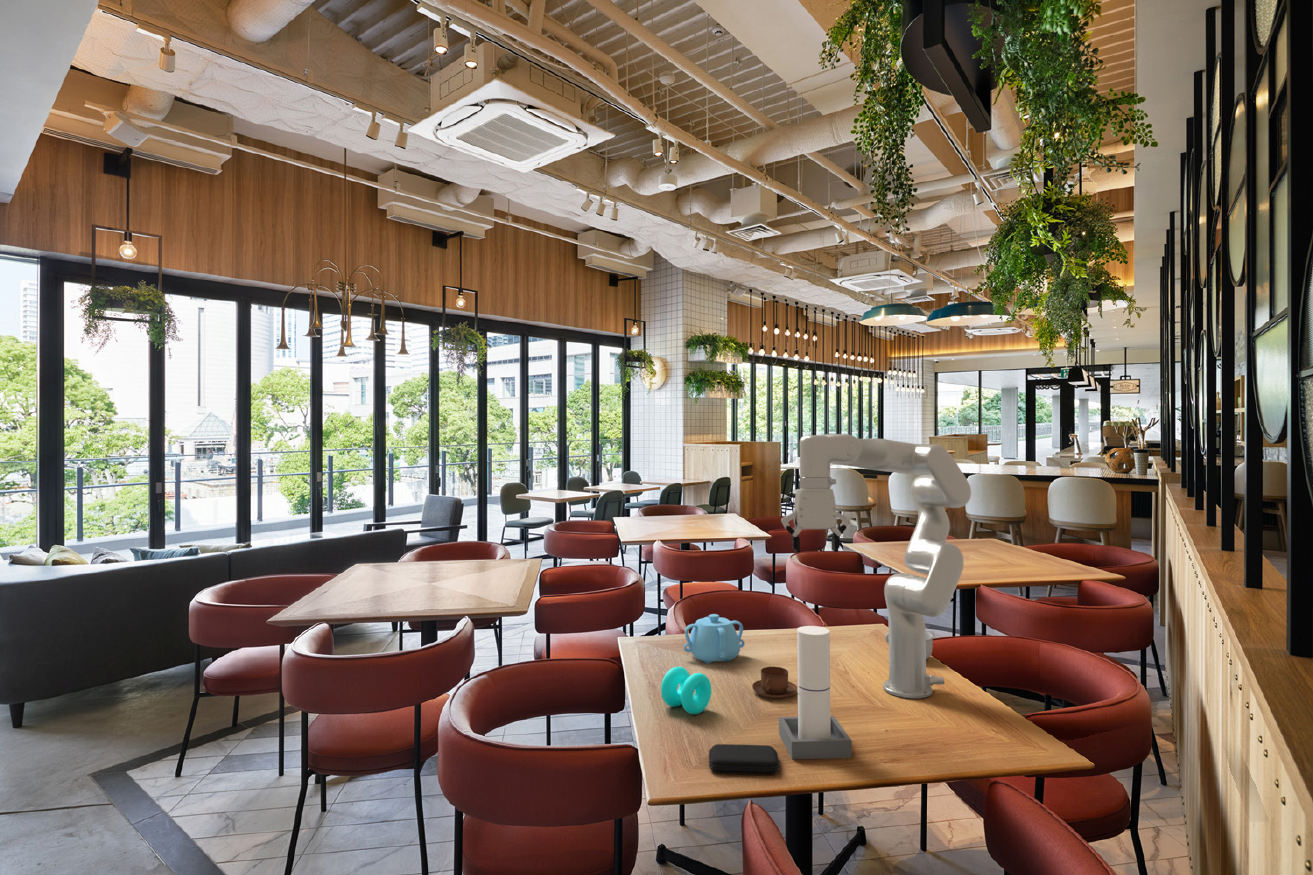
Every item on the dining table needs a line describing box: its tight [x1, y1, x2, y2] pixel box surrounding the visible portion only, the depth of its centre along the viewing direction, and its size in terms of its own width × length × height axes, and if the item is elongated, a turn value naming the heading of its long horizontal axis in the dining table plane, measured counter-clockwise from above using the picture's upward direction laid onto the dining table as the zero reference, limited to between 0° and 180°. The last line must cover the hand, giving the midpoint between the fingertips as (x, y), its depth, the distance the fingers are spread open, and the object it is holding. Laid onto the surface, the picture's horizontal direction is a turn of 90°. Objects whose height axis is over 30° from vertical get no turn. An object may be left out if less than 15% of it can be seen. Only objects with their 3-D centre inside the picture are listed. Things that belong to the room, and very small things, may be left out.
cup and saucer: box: [751, 666, 798, 699], centre depth 186 cm, size 12×12×6 cm
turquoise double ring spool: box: [660, 666, 712, 715], centre depth 176 cm, size 10×10×10 cm
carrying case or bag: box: [708, 743, 781, 776], centre depth 147 cm, size 11×3×15 cm
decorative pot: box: [683, 613, 745, 664], centre depth 216 cm, size 16×16×14 cm
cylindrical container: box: [796, 625, 831, 740], centre depth 155 cm, size 7×7×25 cm
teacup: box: [884, 630, 934, 660], centre depth 214 cm, size 14×11×8 cm
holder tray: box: [778, 715, 853, 760], centre depth 155 cm, size 13×13×4 cm
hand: (815, 551), depth 174 cm, fingers open, 9 cm apart
